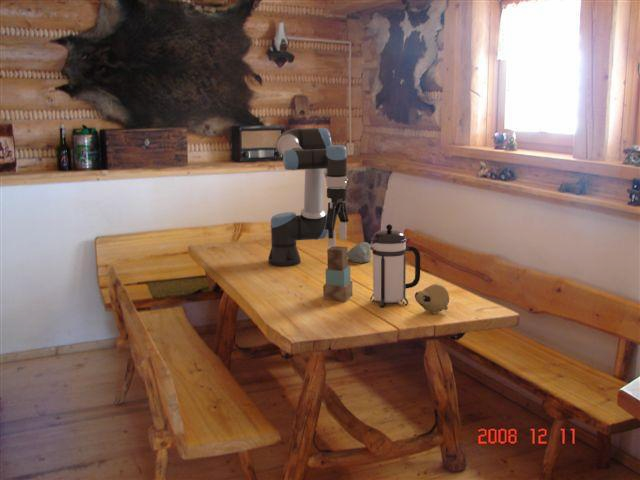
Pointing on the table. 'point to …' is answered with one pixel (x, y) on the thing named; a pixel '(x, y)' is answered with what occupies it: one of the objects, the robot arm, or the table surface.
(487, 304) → the table surface
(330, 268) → the walnut block
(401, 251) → the coffee press
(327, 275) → the tower top
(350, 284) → the tower base
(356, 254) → the decorative stone
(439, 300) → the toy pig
